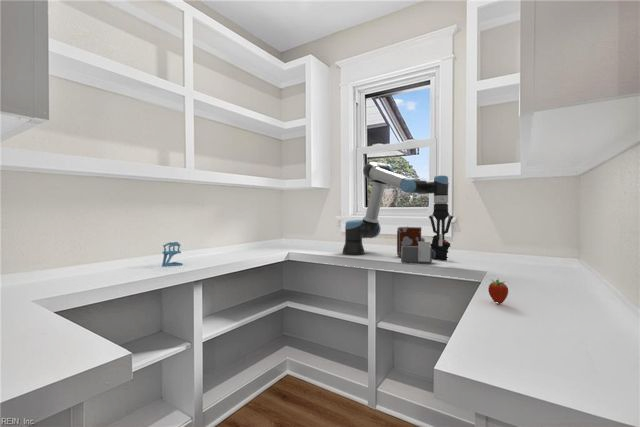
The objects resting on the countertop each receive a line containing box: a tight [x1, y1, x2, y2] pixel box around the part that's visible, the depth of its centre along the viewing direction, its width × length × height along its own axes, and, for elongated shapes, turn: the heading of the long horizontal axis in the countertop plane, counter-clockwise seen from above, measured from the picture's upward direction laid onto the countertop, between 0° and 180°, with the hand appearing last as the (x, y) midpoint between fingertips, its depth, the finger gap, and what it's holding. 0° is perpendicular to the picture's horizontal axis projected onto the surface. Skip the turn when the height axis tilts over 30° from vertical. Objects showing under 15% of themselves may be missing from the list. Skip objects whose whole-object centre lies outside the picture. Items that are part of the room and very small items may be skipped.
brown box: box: [396, 225, 426, 258], centre depth 203 cm, size 9×19×20 cm, turn 89°
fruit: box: [488, 277, 509, 304], centre depth 97 cm, size 5×5×8 cm
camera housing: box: [400, 245, 435, 265], centre depth 180 cm, size 18×10×10 cm, turn 80°
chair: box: [161, 241, 184, 267], centre depth 160 cm, size 8×8×12 cm
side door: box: [418, 241, 431, 262], centre depth 174 cm, size 6×1×11 cm, turn 80°
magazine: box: [430, 234, 451, 262], centre depth 192 cm, size 4×13×15 cm, turn 29°
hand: (440, 245), depth 173 cm, fingers closed
